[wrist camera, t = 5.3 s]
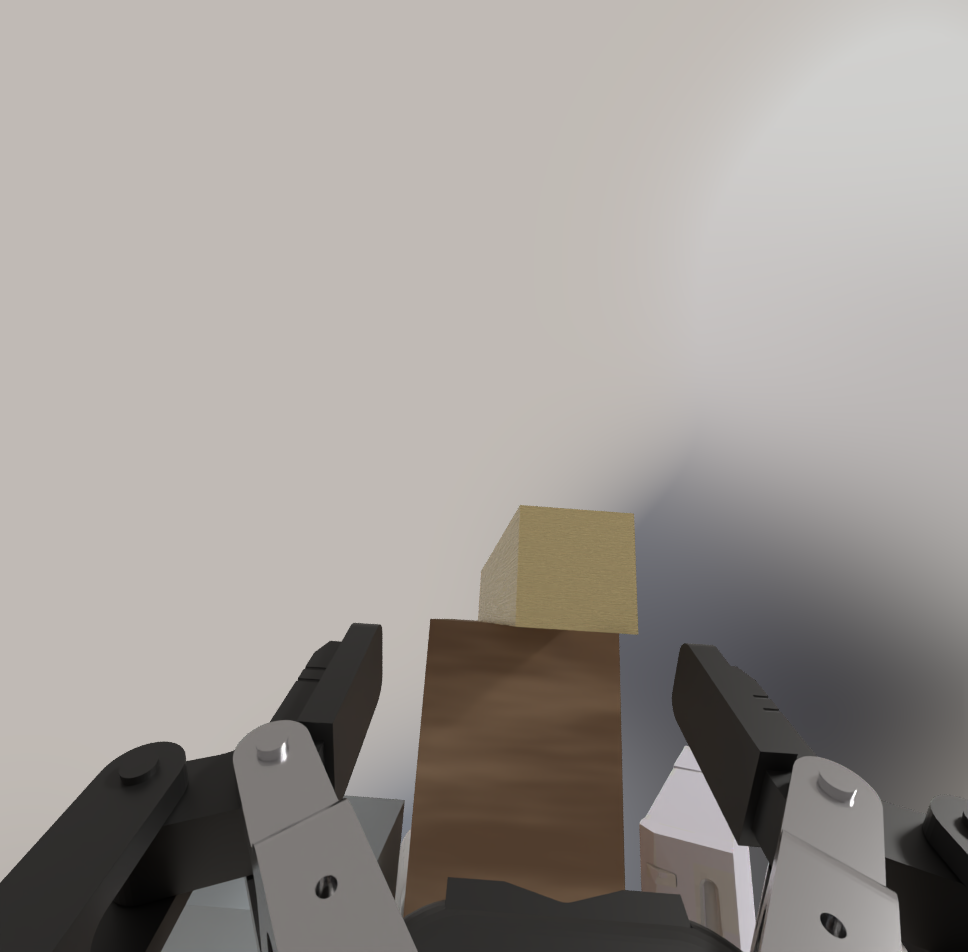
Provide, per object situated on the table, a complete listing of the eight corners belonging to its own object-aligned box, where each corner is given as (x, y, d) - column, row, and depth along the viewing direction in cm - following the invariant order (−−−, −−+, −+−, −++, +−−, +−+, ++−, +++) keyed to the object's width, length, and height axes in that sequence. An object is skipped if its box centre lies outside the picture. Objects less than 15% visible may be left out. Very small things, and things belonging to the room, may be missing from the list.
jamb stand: (412, 1126, 30) (452, 619, 40) (564, 1140, 30) (568, 626, 40) (337, 1638, 15) (430, 618, 25) (643, 1673, 15) (618, 631, 24)
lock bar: (478, 621, 38) (481, 571, 39) (526, 624, 38) (528, 574, 39) (515, 626, 15) (520, 504, 16) (638, 634, 15) (633, 513, 16)
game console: (644, 1276, 24) (631, 827, 30) (695, 966, 47) (682, 745, 53) (775, 1368, 21) (732, 854, 27) (761, 991, 44) (740, 755, 50)
